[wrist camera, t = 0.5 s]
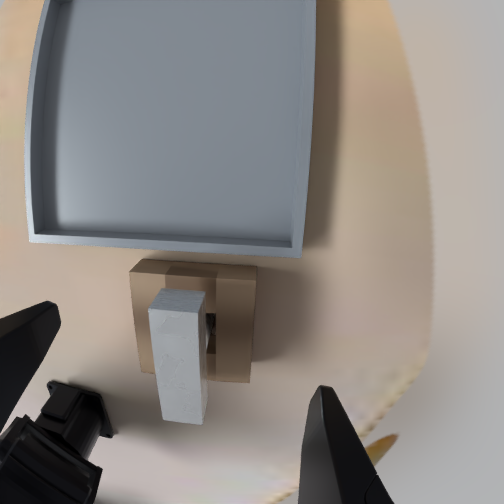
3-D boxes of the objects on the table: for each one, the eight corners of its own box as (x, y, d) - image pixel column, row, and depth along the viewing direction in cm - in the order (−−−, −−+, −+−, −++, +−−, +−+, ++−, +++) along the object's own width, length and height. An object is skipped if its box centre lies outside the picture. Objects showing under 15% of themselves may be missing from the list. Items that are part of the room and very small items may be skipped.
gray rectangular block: (215, 360, 24) (202, 424, 17) (183, 357, 24) (162, 419, 17) (215, 263, 22) (197, 313, 15) (179, 261, 22) (148, 308, 15)
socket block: (250, 362, 24) (249, 383, 22) (150, 353, 24) (141, 372, 22) (256, 266, 22) (256, 280, 19) (141, 259, 22) (129, 271, 19)
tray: (297, 248, 21) (301, 258, 19) (44, 234, 21) (29, 241, 19) (311, -21, 16) (315, -35, 14) (59, 2, 16) (46, -6, 14)
